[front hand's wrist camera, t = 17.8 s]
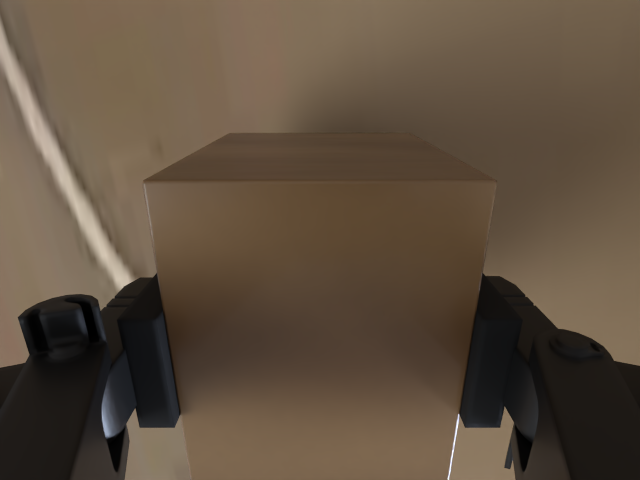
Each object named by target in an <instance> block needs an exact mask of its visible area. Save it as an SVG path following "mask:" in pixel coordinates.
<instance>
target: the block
mask: <svg viewBox="0 0 640 480" xmlns="http://www.w3.org/2000/svg"><path fill="white" fill-rule="evenodd" d="M496 187H497V181H496V180H495V179H493V178H491V177H489V176H487V175H485V174H484V173H482V172H480V171H478V170H476V169H475V168H473V167H471V166H469V165H467V164H465V163H464V162H462V161H460V160H458V159H456V158H454V157H453V156H451V155H449V154H447V153H445V152H444V151H442V150H440V149H438V148H436V147H434V146H433V145H431V144H429V143H427V142H425V141H423V140H422V139H420V138H418V137H416V136H414V135H413V134H411V133H229V134H227V135H225V136H224V137H222V138H220V139H218V140H216V141H214V142H213V143H211V144H209V145H207V146H205V147H203V148H202V149H200V150H198V151H196V152H194V153H192V154H191V155H189V156H187V157H185V158H183V159H182V160H180V161H178V162H176V163H174V164H172V165H171V166H169V167H167V168H165V169H163V170H161V171H160V172H158V173H156V174H154V175H152V176H150V177H149V178H147V179H145V180H143V190H144V196H145V202H146V208H147V214H148V221H149V227H150V233H151V239H152V245H153V251H154V257H155V263H156V270H157V276H158V282H159V288H160V294H161V300H162V306H163V312H164V319H165V325H166V331H167V337H168V343H169V349H170V355H171V362H172V368H173V374H174V380H175V386H176V392H177V398H178V404H179V411H180V417H181V423H182V429H183V435H184V441H185V447H186V453H187V460H188V466H189V472H190V478H191V480H449V476H450V470H451V464H452V458H453V451H454V445H455V439H456V433H457V427H458V421H459V415H460V408H461V402H462V396H463V390H464V384H465V378H466V372H467V365H468V359H469V353H470V347H471V341H472V335H473V329H474V322H475V316H476V310H477V304H478V298H479V292H480V286H481V279H482V273H483V267H484V261H485V255H486V249H487V243H488V236H489V230H490V224H491V218H492V212H493V206H494V200H495V193H496Z"/></svg>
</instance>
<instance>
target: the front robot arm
mask: <svg viewBox="0 0 640 480" xmlns="http://www.w3.org/2000/svg"><path fill="white" fill-rule="evenodd" d="M18 319H19V323H20V326H21V329H22V332H23V335H24V338H25V342H26V345H27V348H28V351H29V354H30V355H29V357H28V359H27V361H26V363H23V364H18V365H13V366H7V367H2V368H0V480H124V479H125V472H126V464H127V456H128V449H129V435H128V430H127V425H126V423H127V421H128V419H129V418H130V416H131V414H132V412H133V411H134V409H135V408H136V412H137V417H138V422H139V426H140V428H175V425H176V423H177V421H178V418H179V416H180V411H179V404H178V398H177V392H176V386H175V380H174V374H173V368H172V362H171V355H170V349H169V343H168V337H167V331H166V325H165V319H164V312H163V306H162V300H161V294H160V288H159V282H158V276H157V273H156V275H155V276H154V277H153V278H139V279H137V280H135V281H133V282H132V283H130V284H128V285H126V286H124V287H123V288H122V290H121V291H120V292H119V293H118V294H117V295H116V296H115V299H112V300H111V301H110V302H109V303H108V304H107V307H104V308H103V309H102V310H101V311H100V307H99V303H98V300H97V299H96V298H94V297H93V296H90V295H83V294H75V295H65V296H60V297H55V298H51V299H49V300H46V301H43V302H40V303H38V304H36V305H34V306H32V307H30V308H28V309H27V310H25V311H24V312H23V313H22V314H21V315H20V316H19V317H18ZM504 406H505V407H506V409H507V411H508V413H509V414H510V416H511V418H512V420H513V421H514V425H513V430H512V434H511V438H510V443H509V447H508V452H507V456H506V461H505V467H504V468H508V469H510V468H511V463H512V461H513V463H514V471H515V478H516V480H640V366H637V365H632V364H627V363H621V362H617V361H614V360H613V358H612V356H611V355H610V353H609V352H608V351H607V350H606V349H605V348H604V347H603V346H602V345H601V344H599V343H598V342H596V341H594V340H593V339H591V338H589V337H586V336H584V335H582V334H579V333H576V332H572V331H568V330H564V329H558V328H557V327H556V326H555V325H554V324H553V323H552V322H551V321H550V320H549V319H548V318H547V317H546V316H545V315H544V314H543V313H542V312H541V311H540V310H539V309H538V308H537V307H536V306H534V305H533V303H532V302H531V300H530V299H529V298H528V297H525V294H524V293H523V292H522V291H521V290H520V289H519V288H518V287H517V286H516V285H515V284H513V283H511V282H509V281H507V280H505V279H504V278H502V277H500V276H485V275H484V274H483V273H482V279H481V286H480V292H479V298H478V304H477V310H476V316H475V322H474V329H473V335H472V341H471V347H470V353H469V359H468V365H467V372H466V378H465V384H464V390H463V396H462V402H461V408H460V417H461V419H462V421H463V424H464V426H465V428H500V425H501V420H502V416H503V411H504Z"/></svg>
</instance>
